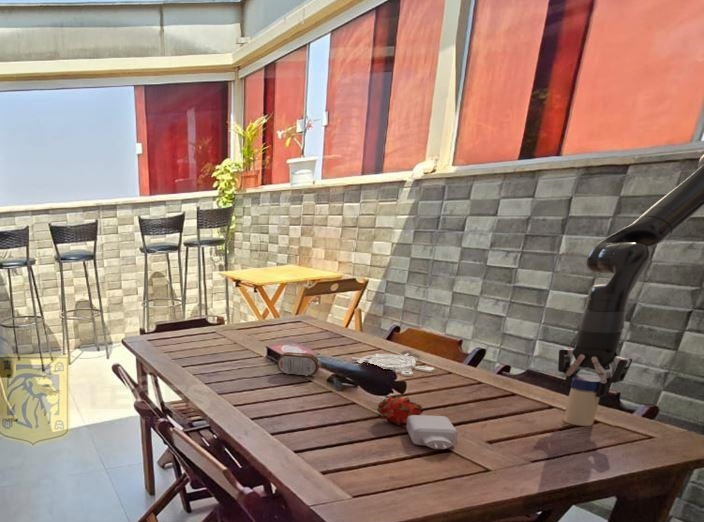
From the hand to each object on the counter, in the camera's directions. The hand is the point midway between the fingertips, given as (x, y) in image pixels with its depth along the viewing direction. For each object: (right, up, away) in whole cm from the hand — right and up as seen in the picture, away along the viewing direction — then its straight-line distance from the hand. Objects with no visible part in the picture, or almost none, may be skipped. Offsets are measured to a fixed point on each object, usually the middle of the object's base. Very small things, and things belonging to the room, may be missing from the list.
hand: (584, 392), depth 124 cm
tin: (-49, +8, +60) cm, 78 cm away
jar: (+1, -7, +3) cm, 8 cm away
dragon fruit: (-39, -8, +14) cm, 42 cm away
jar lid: (0, +3, -1) cm, 4 cm away
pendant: (-14, +11, +60) cm, 62 cm away
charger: (-39, -13, 0) cm, 41 cm away
